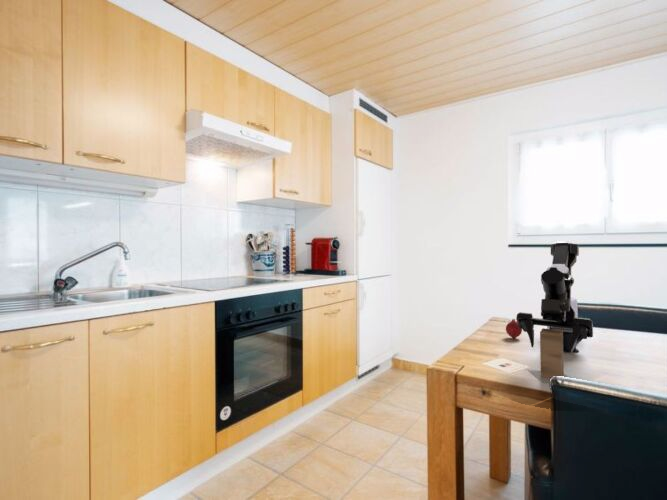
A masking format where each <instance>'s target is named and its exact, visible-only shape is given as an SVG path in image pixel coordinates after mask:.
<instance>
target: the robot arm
mask: <svg viewBox="0 0 667 500" xmlns="http://www.w3.org/2000/svg"><path fill="white" fill-rule="evenodd" d="M579 251H580V248H579V245H578V244H576V243H572V242H570V241H556V242H553V244H550V256H552V263H551V266H548V267H547V268H546V270H545V271H544V272H542V274H541V275H540V282H541V285H542V289H543V292H544V294H545V295H544V298H542V299H541V303H540V304H541V306H540V315H541V316H540V317H542V318H538V317H534V316H533V313H532V312H531V313H530V312H520V311H519V312H518V313H516V317H515V321H516V322H517V323H518V326H519V328H520V329H522V332H525V333H527V336H528V338H529V343H530V346H531V348H534V345H535V330H534V326H542V327H547V326H549V327H550V329H553V330H561V331H563V353H564V352H569V354H572V353H574V352H576V353H577V352H580V351H579V349H578V348H577V345H578V344H579V343H580V342H582V341H583V340H587V339H588V338H594V325H593V320H592V319H590V318H586V317H585V318H584V317H578V318H576V314H575V312H574V310H573V309H572V307H571V295H572V286H573V284H575V279H574V278H573V275H572V268H573V267H574V266H575V264H576V262H577V256H579V254H580V252H579Z"/></svg>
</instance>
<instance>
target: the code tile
mask: <svg viewBox="0 0 667 500" xmlns="http://www.w3.org/2000/svg"><path fill="white" fill-rule="evenodd" d="M480 364H482V365H485V366H487V367H490V368H493V369H495V370H499V371H501V372H504V373H508V374H512V373H516V372H518V371H519V372H520V371H521V370H525V369H529V368H530V366H529V365H526V364H522V363H519V362H516V361H512V360H510V359H506V358H503V357H501V358H496V359H492V360H489V361H485V362H481V363H480Z"/></svg>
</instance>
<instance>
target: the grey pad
mask: <svg viewBox="0 0 667 500" xmlns="http://www.w3.org/2000/svg"><path fill="white" fill-rule="evenodd" d="M528 372H529V373H530V374H531V375H533V376H534V377H535V378H536V379H538V381H540V383H544V384H551V383H550V379H547V378H542V377H541V370H532V369H531V370H528ZM564 377H569V375H567V374H565V373H564Z"/></svg>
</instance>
